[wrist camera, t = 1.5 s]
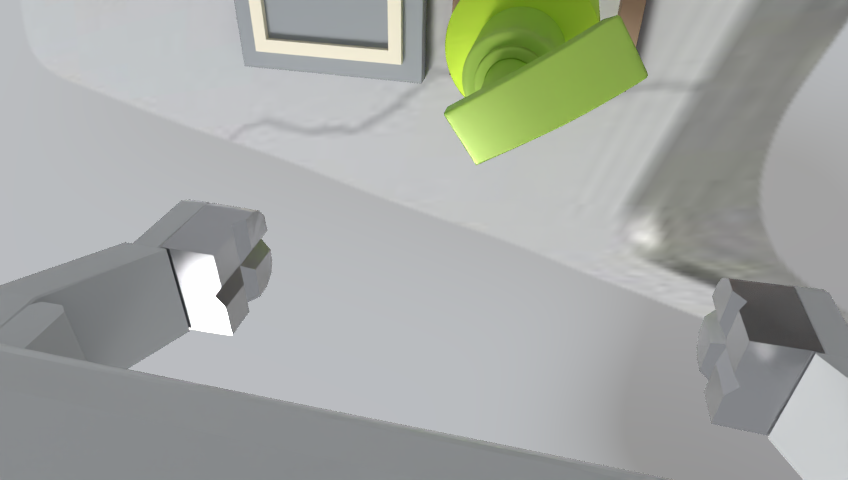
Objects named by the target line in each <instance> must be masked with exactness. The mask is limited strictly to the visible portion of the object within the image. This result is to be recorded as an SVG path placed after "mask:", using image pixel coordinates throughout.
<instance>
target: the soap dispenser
mask: <svg viewBox="0 0 848 480" xmlns="http://www.w3.org/2000/svg"><path fill="white" fill-rule="evenodd" d="M445 52H446V60H447V65H448V68H449V72H450V74H451V77H452V79H453V81H454V83H455V85H456V86H457V88H458V89H459V91H460V92H461V94H462V95H463V96H464V97H465V98H463V99H461V100H459V101H458V102H456V103H454V104H452V105H450V106H448V107H447V109H446V111H445V113H444V116H445V117H446V119H447V120H448V122H449V123H450V125H451V127H452V128H453V130H454V131H455V133H456V134H457V136H458V137H459V139H460V141H461V142H462V144H463V145H464V147H465V148H466V150H467V152H468V153H469V155H470V156H471V158H472V159H473V161H474V162H475V164H476V165H478V164H480V163H482V162H485V161H487V160H489V159H491V158H494V157H496V156H498V155H500V154H503V153H505V152H507V151H509V150H512V149H514V148H516V147H518V146H520V145H523V144H525V143H527V142H529V141H531V140H534V139H536V138H538V137H540V136H542V135H544V134H546V133H548V132H550V131H553V130H555V129H557V128H559V127H561V126H563V125H565V124H567V123H569V122H571V121H572V120H574V119H576V118H578V117H580V116H582V115H584V114H586V113H588V112H589V111H591V110H593V109H595V108H597V107H598V106H600V105H602V104H604V103H605V102H607V101H609V100H611V99H612V98H614V97H616V96H618V95H619V94H621V93H623V92H624V91H626V90H628V89H629V88H631V87H633V86H634V85H636V84H638V83H639V82H641V81H642V80H644V79H645V78H647V76H648V74H647V71H646V69H645V67H644V65H643V62H642V60H641V58H640V56H639V54H638V52H637V49H636V47H635V45H634V43H633V41H632V39H631V37H630V35H629V33H628V30H627V28H626V26H625V24H624V22H623V20H622V18H621V17H620V16H618V15H617V16H613V17H610V18H606V19H604V20H601V21H600V11H599V0H460V1H459V2H458V4H457V5H456V7H455V9H454V11H453V13H452V15H451V18H450V21H449V24H448V28H447V32H446V40H445Z"/></svg>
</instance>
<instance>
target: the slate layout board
mask: <svg viewBox="0 0 848 480" xmlns="http://www.w3.org/2000/svg"><path fill="white" fill-rule="evenodd" d="M234 3H235V9H236V15H237V21H238V28H239V34H240V40H241V46H242V53H243V59H244V65H245V66H249V67H259V68H269V69H279V70H289V71H299V72H309V73H319V74H329V75H340V76H350V77H360V78H370V79H380V80H390V81H400V82H410V83H422V82H423V80H424V79H425V47H426V0H234Z"/></svg>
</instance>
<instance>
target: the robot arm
mask: <svg viewBox="0 0 848 480" xmlns="http://www.w3.org/2000/svg"><path fill="white" fill-rule="evenodd" d="M266 231H267V227H266V222H265V217H264V215H263V214H262V213H261V212H260V211H258V210H252V209H246V208H240V207H234V206H228V205H222V204H215V203H209V202H203V201H196V200H182V201H180V202H179V203H178V204H177V205H176V206H175V207H174V208H172V209H171V210H170V211H169V212H168V213H167V214H166V215H164V216H163V217H162V218H161V219H160V220H159V221H158V222H156V223H155V224H154V225H153V226H152V227H151V228H150V229H149V230H147V231H146V232H145V233H144V234H143V235H142V236H141V237H139V238H138V239H137V240H136V241H135V242H134V243H126V242H125V243H122V244H119V245H116V246H113V247H110V248H108V249H104V250H102V251H99V252H96V253H93V254H90V255H87V256H84V257H81V258H79V259H76V260H73V261H70V262H67V263H64V264H61V265H58V266H55V267H52V268H49V269H47V270H43V271H41V272H38V273H35V274H32V275H29V276H26V277H23V278H20V279H18V280H15V281H12V282H9V283H6V284H3V285H0V480H673V479H668V478H663V477H658V476H654V475H649V474H644V473H639V472H634V471H629V470H624V469H619V468H614V467H609V466H604V465H599V464H594V463H589V462H585V461H580V460H575V459H570V458H565V457H560V456H555V455H551V454H545V453H541V452H536V451H531V450H526V449H521V448H516V447H511V446H506V445H501V444H496V443H492V442H487V441H481V440H477V439H472V438H466V437H462V436H456V435H452V434H446V433H442V432H436V431H432V430H427V429H422V428H417V427H412V426H407V425H402V424H397V423H392V422H387V421H382V420H377V419H372V418H366V417H362V416H357V415H352V414H347V413H342V412H337V411H332V410H327V409H322V408H317V407H312V406H307V405H302V404H297V403H292V402H287V401H282V400H277V399H272V398H267V397H263V396H257V395H253V394H248V393H242V392H238V391H233V390H228V389H223V388H218V387H213V386H208V385H203V384H198V383H193V382H188V381H183V380H178V379H173V378H168V377H163V376H158V375H154V374H149V373H144V372H138V371H134V370H129V369H128V368H130V367H131V366H133V365H135V364H136V363H138V362H140V361H141V360H143V359H145V358H146V357H148V356H149V355H151V354H153V353H154V352H156V351H158V350H159V349H161V348H163V347H164V346H166V345H167V344H169V343H171V342H172V341H174V340H176V339H177V338H179V337H181V336H182V335H184V334H185V333H187V332H189V331H190V330H189V329H195V330H201V331H208V332H214V333H221V334H227V335H233V334H234V332H235V331H236V329H237V328H238V327H239V325H240V324H241V322H242V321H243V320H244V318H245V317H246V315H247V314H248V313H249V308H248V302H249V301H251V300H253V299H256V298H258V297H260V296H261V294H262V293H263V291H264V290H265V288H266V287H267V284H268V281H269V278H270V275H271V269H272V257H271V250H270V249H269V247H268V246H267V245H266V244H265V243H264V242H263V240H262V237H263V236H264V234H265V233H266ZM712 297H713V301H714V305H715V309H716V310H714V311H713V312H711V313H710V314H708V315H707V316H705V317H704V319H703V322H702V325H701V328H700V331H699V336H698V343H697V361H698V366H699V371H700V372H701V373H702V374H703V375H704V376H705V377H706V378H707V379H708V383H707V385H706V388H705V390H704V394H705V399H706V403H707V407H708V412H709V416H710V421H711V424H715V425H720V426H725V427H730V428H734V429H739V430H744V431H749V432H754V433H758V434H763V435H768V436H769V437H768V439H769V440H770V441H771V442H772V443H773V445H774V446H775V447H776V448H777V449H778V450H779V452H780V453H781V454H782V455H783V456H784V458H785V459H786V460H787V461H788V462H789V463H790V465H791V466H792V467H793V468H794V469H795V470H796V472H797V473H798V474H799V475H800V476H801V478H802V479H803V480H848V326H847V324H846V322H845V320H844V318H843V317H842V315H841V313H840V311H839V309H838V308H837V306H836V304H835V302H834V300H833V299H832V297H831V295H830V294H829V293H828V292H827V291H825V290H823V289H816V288H807V287H798V286H784V285H776V284H769V283H761V282H753V281H746V280H738V279H730V278H722V279H721V280H720V281H719V283H718V284H717V286H716V289H715V291H714V294H713V296H712Z"/></svg>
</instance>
